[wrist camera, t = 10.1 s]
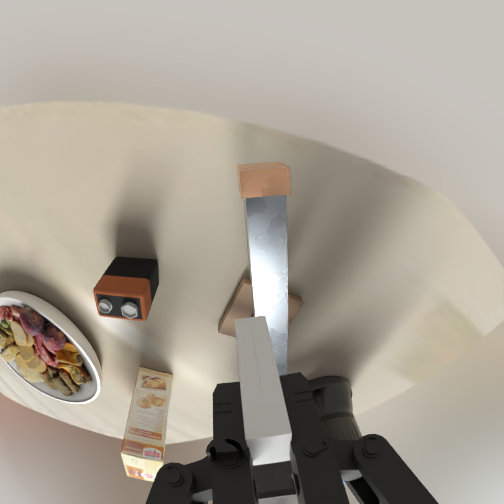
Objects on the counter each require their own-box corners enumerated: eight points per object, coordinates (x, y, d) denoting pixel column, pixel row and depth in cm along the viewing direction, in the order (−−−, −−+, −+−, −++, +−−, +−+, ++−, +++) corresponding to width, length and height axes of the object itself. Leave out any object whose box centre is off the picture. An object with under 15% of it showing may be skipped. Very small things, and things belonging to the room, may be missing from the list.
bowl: (103, 403, 53) (96, 428, 46) (6, 355, 45) (-6, 375, 38) (113, 321, 43) (100, 353, 35) (-10, 259, 35) (-33, 279, 28)
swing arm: (255, 380, 34) (258, 401, 30) (234, 165, 22) (236, 171, 19) (285, 375, 34) (290, 396, 31) (282, 161, 22) (292, 167, 19)
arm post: (272, 341, 47) (284, 395, 36) (218, 326, 44) (218, 383, 33) (301, 297, 43) (323, 350, 32) (243, 277, 41) (250, 331, 30)
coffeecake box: (138, 365, 47) (119, 452, 29) (174, 373, 49) (164, 462, 31) (138, 404, 53) (126, 476, 35) (168, 410, 54) (161, 483, 37)
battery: (159, 284, 40) (145, 327, 31) (118, 281, 39) (95, 321, 30) (158, 258, 38) (141, 298, 29) (114, 255, 37) (88, 292, 28)
